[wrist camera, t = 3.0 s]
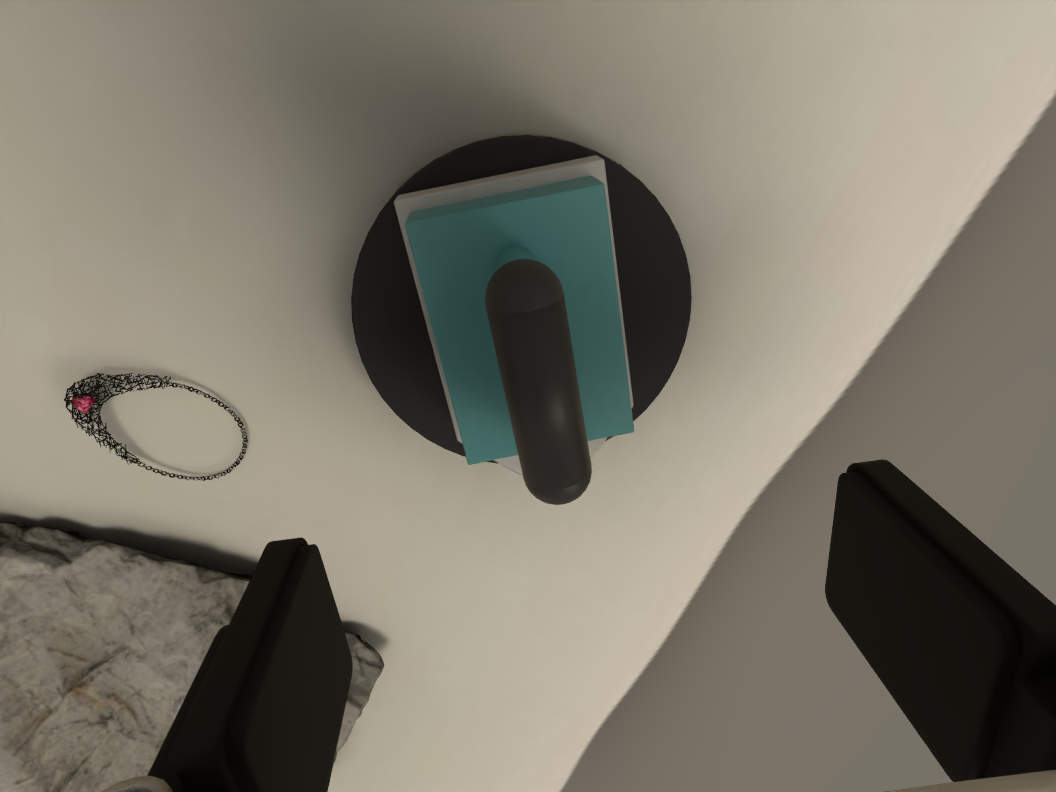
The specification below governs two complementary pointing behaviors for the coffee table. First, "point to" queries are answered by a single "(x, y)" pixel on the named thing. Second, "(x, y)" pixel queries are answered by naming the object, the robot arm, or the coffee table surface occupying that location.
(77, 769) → the fossil stone
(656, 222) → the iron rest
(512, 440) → the iron
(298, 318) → the coffee table surface
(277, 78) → the coffee table surface
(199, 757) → the robot arm
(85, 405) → the ring
